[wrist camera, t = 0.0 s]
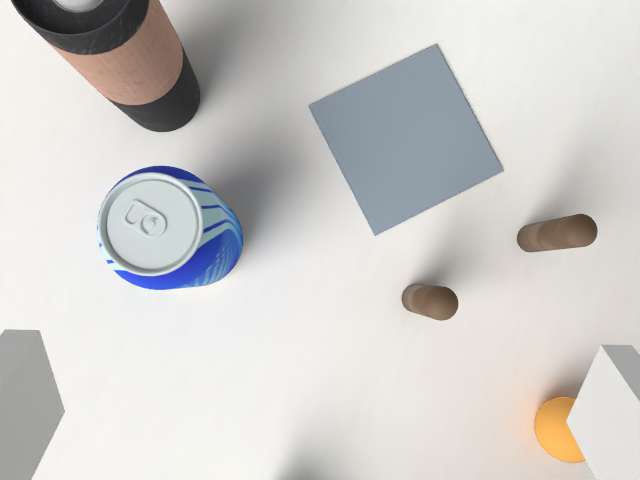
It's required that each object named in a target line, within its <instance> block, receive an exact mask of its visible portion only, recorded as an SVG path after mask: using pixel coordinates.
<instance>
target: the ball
mask: <svg viewBox="0 0 640 480" xmlns="http://www.w3.org/2000/svg"><path fill="white" fill-rule="evenodd" d="M575 400H576V399H575V398H571V397H556V398H553V399H550V400H548V401H547V402H545V403H544V404H543V405H542V406H541V407H540V408H539V410H538V411H537V413H536V416H535V421H534V429H535V434H536V437H537V439H538V441H539V443H540V444H541V446H542V447H543V448H544V450H545V451H546V452H548V453H549V454H550V455H551V456H553V457H555V458H556V459H559V460H561V461H565V462H570V463H578V462H583V461H586V460H585V458H584V456H583V454H582V452H581V450H580V448H579V446H578V444H577V442H576V440H575V438H574V436H573V434H572V432H571V430H570V428H569V426H568V424H567V422H566V420H567V418H568V416H569V414H570V411H571V409H572V407H573V405H574V403H575Z"/></svg>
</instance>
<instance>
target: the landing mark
mask: <svg viewBox="0 0 640 480" xmlns="http://www.w3.org/2000/svg"><path fill="white" fill-rule="evenodd" d="M309 108H310V110H311V112H312V114H313V116H314V118H315V120H316V122H317V124H318V126H319V128H320V130H321V132H322V134H323V136H324V138H325V140H326V142H327V144H328V145H329V147H330V149H331V151H332V153H333V155H334V157H335V159H336V161H337V163H338V165H339V167H340V169H341V171H342V173H343V175H344V177H345V179H346V181H347V182H348V184H349V186H350V188H351V190H352V192H353V194H354V196H355V198H356V200H357V202H358V204H359V206H360V208H361V210H362V212H363V214H364V216H365V218H366V220H367V221H368V223H369V225H370V227H371V229H372V231H373V233H374V235H375V236H376V235H378V234H380V233H382V232H384V231H386V230H388V229H390V228H392V227H394V226H396V225H398V224H400V223H401V222H403V221H405V220H407V219H409V218H411V217H413V216H415V215H417V214H419V213H421V212H423V211H425V210H427V209H429V208H431V207H433V206H435V205H437V204H439V203H441V202H443V201H445V200H447V199H449V198H451V197H453V196H455V195H457V194H459V193H461V192H463V191H465V190H467V189H469V188H470V187H472V186H474V185H476V184H478V183H480V182H482V181H484V180H486V179H488V178H490V177H492V176H494V175H496V174H498V173H500V172H502V171H503V169H502V167H501V165H500V163H499V162H498V160H497V158H496V156H495V154H494V152H493V150H492V148H491V146H490V145H489V143H488V141H487V139H486V137H485V135H484V133H483V131H482V129H481V128H480V126H479V124H478V122H477V120H476V118H475V116H474V114H473V112H472V111H471V109H470V107H469V105H468V103H467V101H466V99H465V97H464V95H463V94H462V92H461V90H460V88H459V86H458V84H457V82H456V80H455V78H454V77H453V75H452V73H451V71H450V69H449V67H448V65H447V63H446V61H445V60H444V58H443V56H442V54H441V52H440V50H439V48H438V46H437V44H436V45H433V46H431V47H429V48H427V49H425V50H423V51H421V52H419V53H417V54H415V55H413V56H411V57H409V58H407V59H404V60H402V61H400V62H398V63H396V64H394V65H392V66H390V67H388V68H386V69H384V70H382V71H380V72H378V73H375V74H373V75H371V76H369V77H367V78H365V79H363V80H361V81H359V82H357V83H355V84H353V85H351V86H349V87H346V88H344V89H342V90H340V91H338V92H336V93H334V94H332V95H330V96H328V97H326V98H324V99H322V100H320V101H317V102H315V103H313V104H311V105H309Z"/></svg>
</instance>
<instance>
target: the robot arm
mask: <svg viewBox="0 0 640 480" xmlns="http://www.w3.org/2000/svg"><path fill="white" fill-rule="evenodd" d="M64 412H65V410H64V407H63V404H62V401H61V398H60V394H59V391H58V388H57V385H56V382H55V378H54V375H53V372H52V369H51V366H50V363H49V359H48V356H47V353H46V350H45V347H44V344H43V340H42V337H41V334H40V331H39V330H4V332H3V333H2V334H1V336H0V480H31V479H32V477H33V475H34V473H35V471H36V469H37V467H38V465H39V463H40V461H41V459H42V457H43V455H44V453H45V451H46V449H47V447H48V445H49V443H50V441H51V439H52V437H53V435H54V432H55V430H56V428H57V426H58V424H59V422H60V420H61V418H62V416H63V414H64ZM566 422H567V424H568V426H569V428H570V430H571V432H572V434H573V436H574V438H575V440H576V442H577V444H578V446H579V448H580V450H581V452H582V454H583V456H584V458H585V460H586V462H587V464H588V466H589V468H590V470H591V472H592V474H593V476H594V478H595V480H640V356H639V354H638V353H637V352H636V350H635V349H634V348H633V346H627V345H600V347H599V350H598V352H597V354H596V356H595V358H594V361H593V363H592V365H591V367H590V370H589V372H588V374H587V376H586V378H585V381H584V383H583V385H582V387H581V389H580V392H579V394H578V396H577V398H576V400H575V403H574V405H573V407H572V409H571V411H570V414H569V416H568V418H567V420H566Z"/></svg>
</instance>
